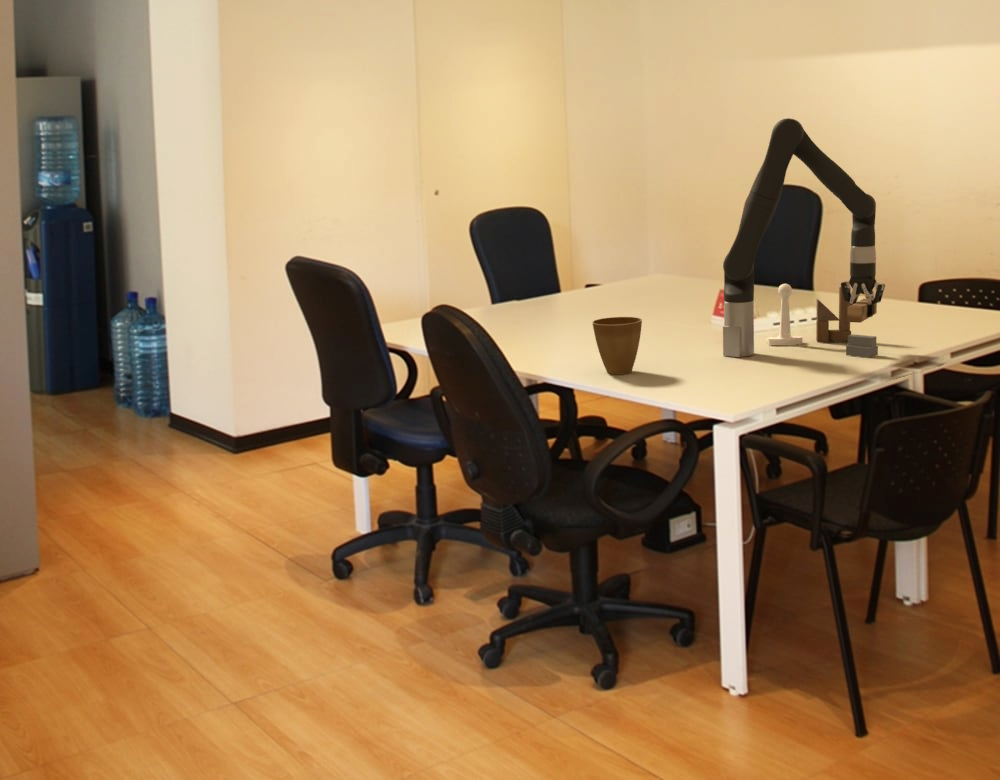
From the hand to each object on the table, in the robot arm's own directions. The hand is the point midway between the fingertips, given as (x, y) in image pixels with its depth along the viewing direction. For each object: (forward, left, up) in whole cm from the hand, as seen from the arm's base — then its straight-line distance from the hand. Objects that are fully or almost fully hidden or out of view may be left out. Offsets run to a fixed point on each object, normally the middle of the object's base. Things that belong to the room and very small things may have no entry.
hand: (862, 315), depth 383 cm
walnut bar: (0, 0, -1) cm, 1 cm away
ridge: (0, 0, -12) cm, 12 cm away
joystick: (+5, +31, -13) cm, 34 cm away
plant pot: (-59, +49, -13) cm, 77 cm away
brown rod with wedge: (+16, +19, -13) cm, 28 cm away
